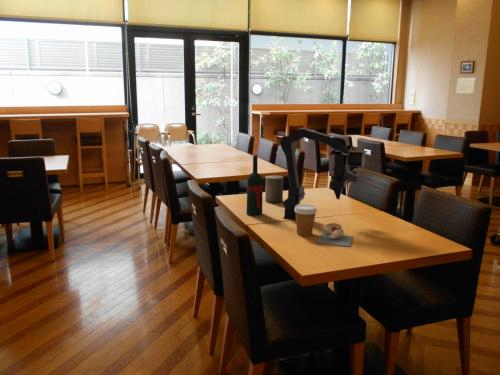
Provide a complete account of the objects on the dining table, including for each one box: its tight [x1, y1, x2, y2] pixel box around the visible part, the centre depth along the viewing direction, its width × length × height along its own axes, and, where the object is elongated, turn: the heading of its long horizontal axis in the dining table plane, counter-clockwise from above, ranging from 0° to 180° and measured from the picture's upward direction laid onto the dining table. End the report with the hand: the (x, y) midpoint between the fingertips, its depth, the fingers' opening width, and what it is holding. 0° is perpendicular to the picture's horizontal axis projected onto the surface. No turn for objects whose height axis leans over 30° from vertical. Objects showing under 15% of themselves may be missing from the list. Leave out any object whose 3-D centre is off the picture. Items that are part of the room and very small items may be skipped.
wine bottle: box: [246, 152, 264, 217], centre depth 214 cm, size 8×10×30 cm
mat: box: [316, 232, 353, 248], centre depth 181 cm, size 13×13×1 cm
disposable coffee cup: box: [294, 203, 318, 237], centre depth 187 cm, size 10×10×12 cm
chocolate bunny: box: [322, 222, 345, 239], centre depth 183 cm, size 6×8×10 cm
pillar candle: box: [264, 174, 284, 204], centre depth 242 cm, size 10×10×15 cm
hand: (338, 199), depth 200 cm, fingers closed
